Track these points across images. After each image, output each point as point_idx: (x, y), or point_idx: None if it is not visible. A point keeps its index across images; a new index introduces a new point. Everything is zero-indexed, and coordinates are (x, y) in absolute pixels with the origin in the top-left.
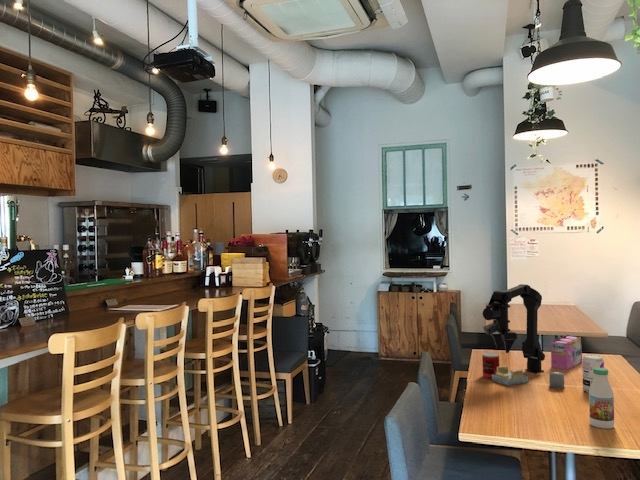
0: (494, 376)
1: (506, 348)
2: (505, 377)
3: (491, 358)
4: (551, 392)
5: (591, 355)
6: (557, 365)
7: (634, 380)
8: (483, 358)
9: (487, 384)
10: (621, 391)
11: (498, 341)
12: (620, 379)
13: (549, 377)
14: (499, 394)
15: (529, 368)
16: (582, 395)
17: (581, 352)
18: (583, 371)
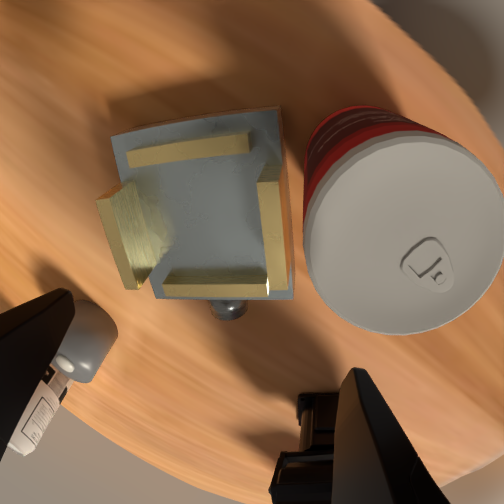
0: (246, 111)
1: (5, 319)
2: (144, 145)
3: (321, 174)
4: (33, 253)
5: (24, 455)
6: None
7: (147, 462)
8: (426, 127)
9: (205, 20)
10: None
11: (353, 483)
12: (158, 459)
13: (80, 334)
14: (36, 15)
15: (325, 404)
16: None
17: None
18: None
